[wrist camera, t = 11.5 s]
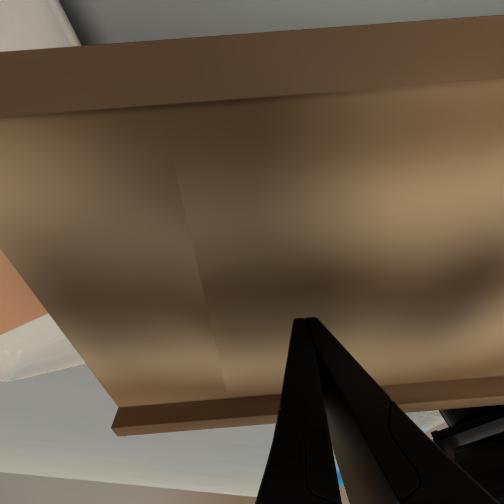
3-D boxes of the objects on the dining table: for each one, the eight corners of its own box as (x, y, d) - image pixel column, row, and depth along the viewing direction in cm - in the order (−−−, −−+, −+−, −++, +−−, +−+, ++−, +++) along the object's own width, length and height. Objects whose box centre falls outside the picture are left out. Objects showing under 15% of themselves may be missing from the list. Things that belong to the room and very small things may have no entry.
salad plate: (234, 298, 21) (234, 331, 18) (25, 353, 24) (-4, 389, 21) (51, -75, 10) (-25, -141, 7) (-312, 112, 12) (-473, 121, 10)
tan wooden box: (422, 289, 21) (524, 402, 14) (160, 310, 21) (118, 436, 13) (527, 43, 12) (994, -22, 5) (71, 77, 12) (-202, 66, 5)
